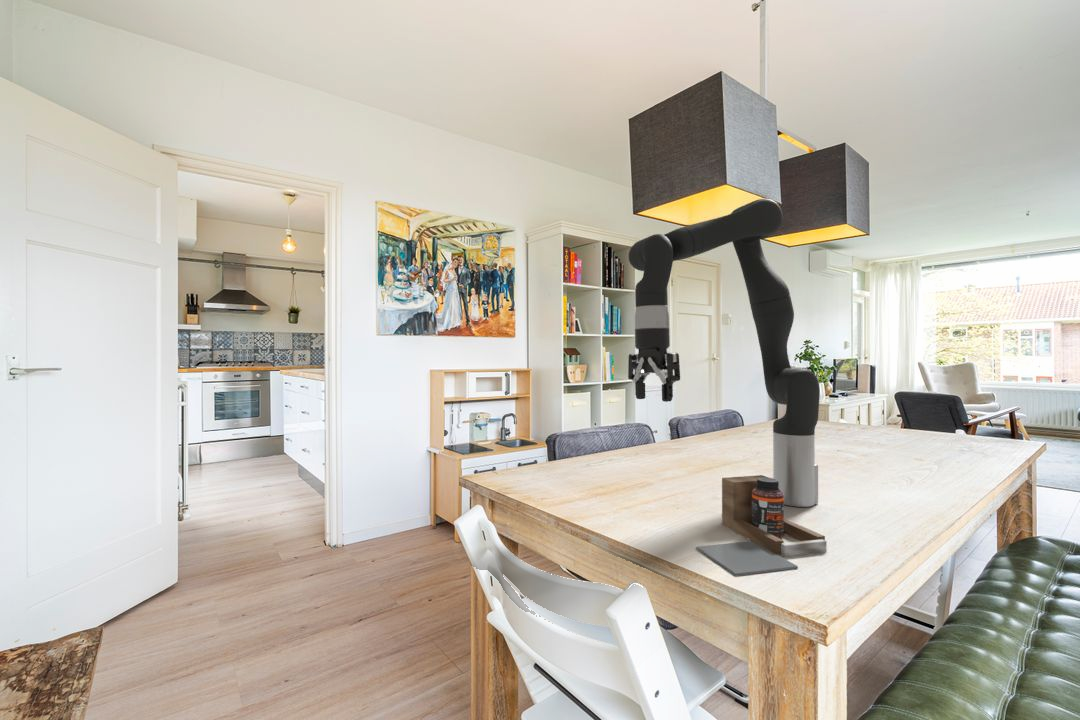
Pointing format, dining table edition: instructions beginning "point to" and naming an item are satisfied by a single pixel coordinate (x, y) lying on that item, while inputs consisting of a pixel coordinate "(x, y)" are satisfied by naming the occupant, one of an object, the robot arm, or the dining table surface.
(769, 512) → the supplement bottle
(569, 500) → the dining table surface
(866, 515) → the dining table surface
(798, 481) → the robot arm
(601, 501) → the dining table surface
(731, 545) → the plate
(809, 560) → the dining table surface
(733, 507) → the dispenser
